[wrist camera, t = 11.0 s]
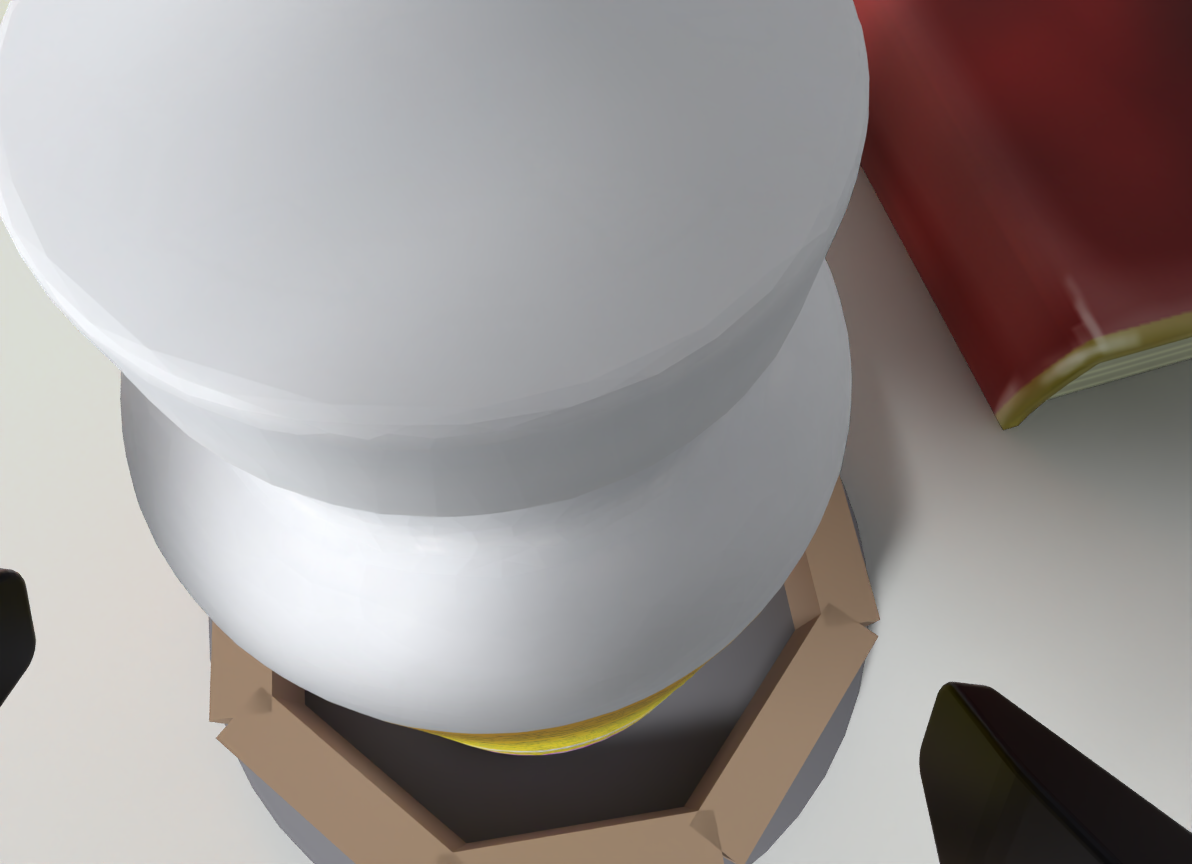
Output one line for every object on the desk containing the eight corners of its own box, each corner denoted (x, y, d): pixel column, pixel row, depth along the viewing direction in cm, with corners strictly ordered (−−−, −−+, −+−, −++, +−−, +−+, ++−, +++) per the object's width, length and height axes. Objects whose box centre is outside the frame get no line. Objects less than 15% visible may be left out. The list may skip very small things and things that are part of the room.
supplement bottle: (770, 557, 16) (1296, 2, 5) (555, 839, 14) (477, 1174, 2) (523, 364, 18) (432, -430, 6) (296, 593, 16) (-522, 68, 4)
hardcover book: (986, 439, 19) (1093, 354, 15) (687, -131, 27) (707, -286, 23) (1406, 317, 21) (1600, 211, 17) (1012, -187, 28) (1082, -340, 24)
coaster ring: (215, 1000, 14) (141, 1047, 12) (231, 340, 19) (182, 277, 16) (937, 870, 15) (1007, 888, 13) (774, 278, 20) (802, 211, 18)
